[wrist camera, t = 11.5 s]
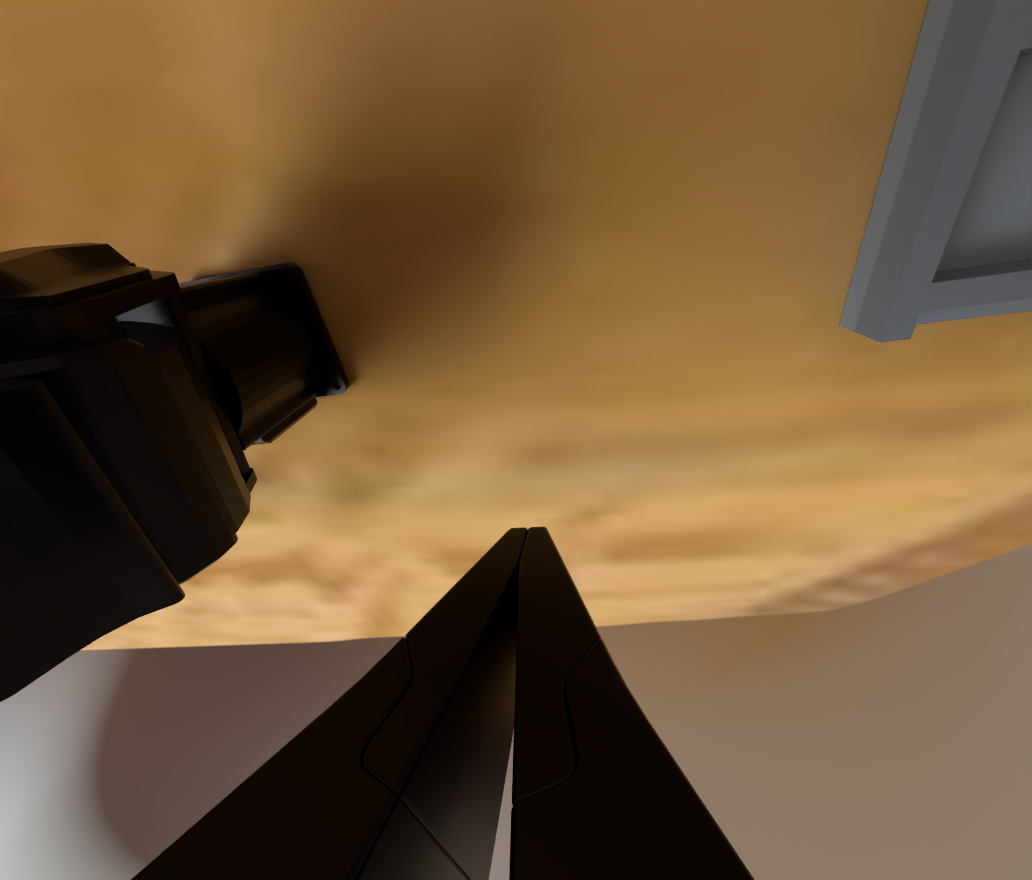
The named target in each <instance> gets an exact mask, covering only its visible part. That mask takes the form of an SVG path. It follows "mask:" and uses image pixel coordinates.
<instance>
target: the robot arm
mask: <svg viewBox="0 0 1032 880" xmlns="http://www.w3.org/2000/svg"><path fill="white" fill-rule="evenodd" d="M288 270H289V271H291V272H292V274H293V277H294V278H293V279H291V278H290V277H289V275H288ZM335 381H337V382H339V383H340V385H341V387H339V386H338V385H337V384H336V382H335ZM348 387H349V382H348V380H347V377H346V375H345V372H344V370H343V368H342V365H341V363H340V360H339V358H338V356H337V353H336V351H335V348H334V346H333V344H332V341H331V339H330V336H329V334H328V332H327V329H326V327H325V325H324V322H323V320H322V317H321V315H320V313H319V310H318V308H317V305H316V303H315V301H314V298H313V296H312V293H311V291H310V289H309V286H308V284H307V281H306V279H305V277H304V274H303V272H302V270H301V269H300V268H299V267H298V266H297V265H296V264H294V263H283V264H278V265H272V266H267V267H262V268H256V269H251V270H246V271H240V272H235V273H230V274H224V275H219V276H214V277H209V278H203V279H198V280H193V281H187V282H182V283H180V284H179V283H178V281H177V278H176V276H175V273H173V272H162V271H150V270H149V269H148V268H142V267H136V265H135V263H130V262H129V261H128V260H127V259H126V258H124V257H123V256H122V255H121V254H119V253H118V252H117V251H116V250H114V249H113V248H112V247H111V246H110V245H108V244H100V243H80V244H65V245H51V246H39V247H29V248H21V249H15V250H10V251H5V252H1V253H0V702H1V701H3V700H5V699H7V698H9V697H10V696H12V695H14V694H16V693H17V692H19V691H20V690H21V689H23V688H24V687H26V686H27V685H29V684H30V683H32V682H33V681H35V680H36V679H38V678H39V677H40V676H42V675H44V674H45V673H46V672H48V671H49V670H51V669H52V668H54V667H55V666H57V665H58V664H60V663H61V662H63V661H64V660H66V659H67V658H68V657H70V656H71V655H73V654H74V653H76V652H78V651H79V650H81V649H82V648H84V647H86V646H87V645H89V644H90V643H92V642H93V641H95V640H97V639H98V638H100V637H102V636H103V635H105V634H107V633H109V632H111V631H113V630H115V629H117V628H119V627H121V626H123V625H125V624H127V623H129V622H131V621H133V620H135V619H137V618H139V617H141V616H144V615H147V614H149V613H152V612H155V611H157V610H160V609H163V608H166V607H168V606H171V605H174V604H176V603H178V602H180V601H181V600H182V599H183V598H184V597H185V593H184V591H183V590H182V588H181V587H180V584H182V583H184V582H186V581H188V580H189V579H191V578H192V577H194V576H195V575H197V574H198V573H200V572H201V571H203V570H204V569H206V568H207V567H209V566H210V565H211V564H213V563H214V562H216V561H217V560H218V559H220V558H221V557H222V556H223V555H224V554H225V553H226V552H227V551H228V550H229V549H230V548H231V547H232V546H234V545H235V543H236V542H237V540H238V537H237V535H236V532H237V531H238V530H239V528H240V526H241V525H242V523H243V521H244V520H245V518H246V516H247V515H248V513H249V511H250V497H251V496H250V493H251V491H252V489H253V487H254V485H255V483H256V481H257V477H256V475H255V472H254V470H253V468H250V467H249V465H248V462H247V460H246V457H245V455H244V452H243V450H245V449H247V448H248V447H249V446H251V445H255V444H266V443H271V442H273V441H274V440H275V439H276V438H278V437H279V436H280V435H281V434H282V433H284V432H285V431H286V430H287V429H289V428H290V427H291V426H292V425H294V424H295V423H296V422H297V421H299V420H300V419H301V418H302V417H304V416H305V415H306V414H307V413H309V412H310V411H311V410H312V409H314V408H315V407H316V405H317V403H318V402H317V400H316V398H315V397H319V396H327V395H336V394H342V393H344V392H345V391H346V390H347V389H348ZM405 637H406V639H405V638H401V639H400V640H399V641H398V642H397V643H396V644H395V645H394V646H393V647H392V648H391V649H390V650H389V651H388V652H387V653H386V654H385V655H384V656H383V657H382V658H381V659H380V660H379V661H378V662H377V663H376V664H375V665H374V666H373V667H372V668H371V669H370V670H369V671H368V672H367V673H366V674H365V675H364V676H363V677H362V678H361V679H359V680H358V681H357V682H356V683H355V684H354V685H353V686H352V687H351V688H349V689H348V690H347V691H346V692H345V693H344V694H343V695H342V696H341V697H339V698H338V699H337V700H336V701H335V702H334V703H333V704H332V705H331V706H330V707H328V708H327V709H326V710H325V711H324V712H323V713H321V714H320V715H319V716H318V717H317V718H316V719H315V720H313V721H312V722H311V723H310V724H309V725H308V726H307V727H305V728H304V729H303V730H302V731H301V732H300V733H298V734H297V735H296V736H295V737H294V738H293V739H292V740H290V741H289V742H288V743H287V744H286V745H285V746H284V747H282V748H281V749H280V750H279V751H278V752H277V753H276V754H274V755H273V756H272V757H271V758H270V759H269V760H267V762H265V763H264V764H263V765H262V766H261V767H259V768H258V769H257V770H256V771H255V772H254V773H253V774H251V775H250V776H249V777H248V778H247V779H246V780H245V781H243V783H241V784H240V785H239V786H238V787H237V788H235V789H234V790H233V791H232V792H231V793H230V794H228V795H227V796H226V797H225V798H224V799H223V800H222V801H220V802H219V803H218V804H217V805H216V806H215V807H214V808H212V809H211V810H210V811H209V812H208V813H207V814H205V815H204V816H203V817H202V818H201V819H200V820H199V821H198V822H196V823H195V824H194V825H193V826H192V827H191V828H190V829H188V830H187V831H186V832H185V833H184V834H183V835H181V836H180V837H179V838H178V839H177V840H176V841H174V842H173V843H172V844H171V845H170V846H169V847H168V848H167V849H165V850H164V851H163V852H162V853H161V854H160V855H159V856H157V857H156V858H155V859H154V860H153V861H152V862H150V863H149V864H148V865H147V866H146V867H145V868H143V869H142V870H141V871H140V872H139V873H138V874H137V875H136V876H134V877H133V878H132V879H131V880H488V879H489V874H490V868H491V862H492V856H493V850H494V844H495V838H496V832H497V826H498V820H499V814H500V807H501V802H502V796H503V789H504V784H505V778H506V772H507V766H508V760H509V754H510V748H511V742H512V736H513V730H514V748H513V781H512V783H513V784H512V804H513V808H512V811H511V842H510V877H509V879H510V880H754V878H753V877H752V875H751V874H750V872H749V871H748V870H747V868H746V867H745V865H744V864H743V862H742V861H741V859H740V858H739V856H738V855H737V853H736V851H735V850H734V848H733V847H732V845H731V844H730V842H729V841H728V839H727V838H726V836H725V835H724V833H723V832H722V830H721V829H720V827H719V826H718V824H717V823H716V822H715V820H714V818H713V817H712V815H711V814H710V812H709V811H708V809H707V808H706V806H705V805H704V804H703V802H702V800H701V799H700V798H699V796H698V794H697V793H696V792H695V790H694V788H693V787H692V785H691V784H690V782H689V781H688V779H687V778H686V776H685V775H684V773H683V772H682V770H681V769H680V767H679V766H678V764H677V763H676V761H675V760H674V758H673V757H672V755H671V754H670V752H669V751H668V749H667V748H666V746H665V745H664V743H663V742H662V740H661V739H660V737H659V736H658V734H657V733H656V731H655V730H654V728H653V727H652V725H651V724H650V722H649V721H648V719H647V717H646V716H645V714H644V713H643V711H642V709H641V708H640V706H639V705H638V703H637V701H636V700H635V698H634V697H633V695H632V693H631V692H630V690H629V689H628V687H627V685H626V683H625V682H624V680H623V678H622V676H621V675H620V672H619V670H618V669H617V667H616V665H615V663H614V661H613V660H612V658H611V656H610V654H609V652H608V650H607V648H606V645H605V643H604V642H603V640H602V639H601V637H600V635H599V633H598V631H597V629H596V627H595V624H594V622H593V620H592V618H591V616H590V614H589V612H588V610H587V608H586V606H585V604H584V602H583V600H582V598H581V596H580V594H579V592H578V590H577V588H576V586H575V584H574V582H573V580H572V578H571V576H570V574H569V572H568V570H567V568H566V566H565V564H564V562H563V560H562V558H561V556H560V554H559V552H558V550H557V548H556V546H555V544H554V542H553V540H552V538H551V536H550V534H549V532H548V530H547V528H546V527H531V528H529V529H527V528H511V529H510V530H508V531H507V532H506V533H505V534H504V535H503V536H502V537H501V538H500V539H499V540H498V541H497V542H496V543H495V544H494V545H493V546H492V547H491V549H490V550H489V551H488V552H487V553H486V554H485V555H484V556H483V557H482V558H481V559H480V560H479V561H478V562H477V563H476V564H475V565H474V566H473V567H472V568H471V569H470V570H469V571H468V572H467V573H466V574H465V575H464V576H463V577H462V578H461V579H460V580H459V581H458V582H457V583H456V584H455V585H454V586H453V587H452V588H451V589H450V590H449V591H448V592H447V593H446V594H445V595H444V596H443V597H442V598H441V599H440V600H439V601H438V602H437V603H436V604H435V605H434V606H433V607H432V609H431V610H430V611H429V612H428V613H427V614H426V615H425V616H424V617H423V618H422V619H421V620H420V621H419V622H418V623H417V624H416V625H415V626H414V627H413V628H412V629H411V630H410V631H409V632H408V633H407V634H406V636H405Z"/></svg>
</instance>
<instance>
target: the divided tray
mask: <svg viewBox="0 0 1032 880" xmlns="http://www.w3.org/2000/svg"><path fill="white" fill-rule="evenodd" d="M1024 311H1032V0H929V4H928V7H927V11H926V14H925V18H924V22H923V25H922V29H921V32H920V36H919V40H918V43H917V47H916V50H915V54H914V58H913V61H912V65H911V68H910V72H909V76H908V79H907V83H906V86H905V90H904V94H903V97H902V101H901V104H900V108H899V112H898V115H897V119H896V122H895V126H894V130H893V133H892V137H891V140H890V144H889V148H888V151H887V155H886V158H885V162H884V166H883V169H882V173H881V176H880V180H879V184H878V187H877V191H876V194H875V198H874V202H873V205H872V209H871V212H870V216H869V220H868V223H867V227H866V230H865V234H864V238H863V241H862V245H861V248H860V252H859V256H858V259H857V263H856V266H855V270H854V274H853V277H852V281H851V284H850V288H849V291H848V295H847V299H846V302H845V306H844V309H843V313H842V317H841V320H840V324H839V325H840V326H842V327H844V328H847V329H849V330H852V331H854V332H856V333H859V334H861V335H864V336H866V337H869V338H871V339H873V340H876V341H878V342H888V341H896V340H905V339H911V336H912V333H913V331H914V328H915V325H916V324H923V323H931V322H940V321H948V320H957V319H965V318H973V317H982V316H990V315H999V314H1007V313H1016V312H1024Z"/></svg>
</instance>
